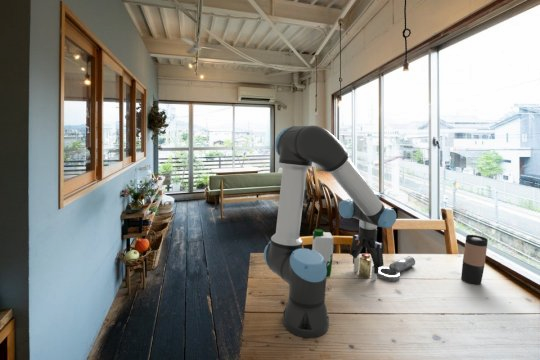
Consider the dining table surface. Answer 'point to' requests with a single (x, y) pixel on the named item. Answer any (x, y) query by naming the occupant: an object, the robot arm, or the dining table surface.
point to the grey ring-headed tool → (396, 269)
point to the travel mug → (474, 259)
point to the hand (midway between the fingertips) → (364, 275)
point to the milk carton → (324, 247)
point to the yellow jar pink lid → (365, 266)
